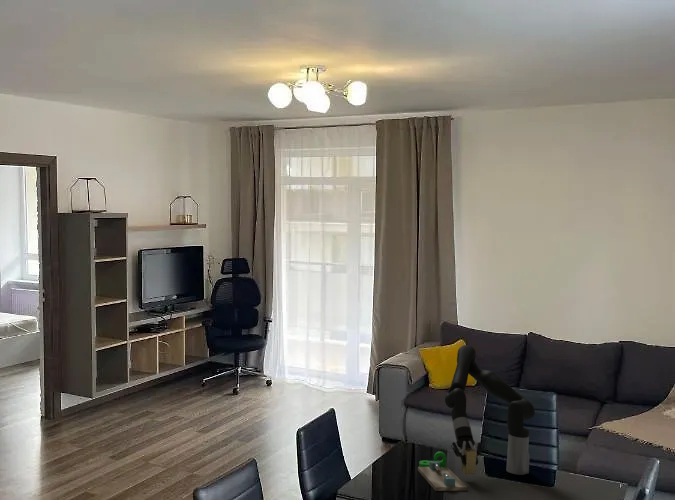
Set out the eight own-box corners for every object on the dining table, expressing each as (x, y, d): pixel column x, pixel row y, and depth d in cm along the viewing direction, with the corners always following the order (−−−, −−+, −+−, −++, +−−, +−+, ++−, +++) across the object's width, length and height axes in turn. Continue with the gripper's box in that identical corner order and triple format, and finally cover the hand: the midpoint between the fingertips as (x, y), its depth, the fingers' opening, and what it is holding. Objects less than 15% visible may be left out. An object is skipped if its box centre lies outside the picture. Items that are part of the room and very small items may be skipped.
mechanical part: (444, 466, 317) (445, 449, 317) (445, 470, 311) (446, 453, 311) (418, 464, 318) (419, 447, 318) (419, 468, 312) (420, 451, 312)
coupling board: (446, 469, 311) (447, 460, 311) (466, 490, 287) (467, 479, 287) (417, 470, 309) (418, 460, 309) (435, 490, 284) (436, 480, 284)
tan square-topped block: (471, 470, 302) (472, 448, 302) (475, 474, 298) (476, 451, 297) (461, 470, 301) (463, 448, 301) (465, 474, 297) (467, 451, 297)
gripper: (474, 433, 313) (483, 468, 301) (445, 433, 311) (452, 468, 299) (479, 425, 308) (488, 460, 296) (449, 425, 305) (457, 460, 293)
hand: (470, 464), depth 297 cm, fingers closed on tan square-topped block, 4 cm apart
